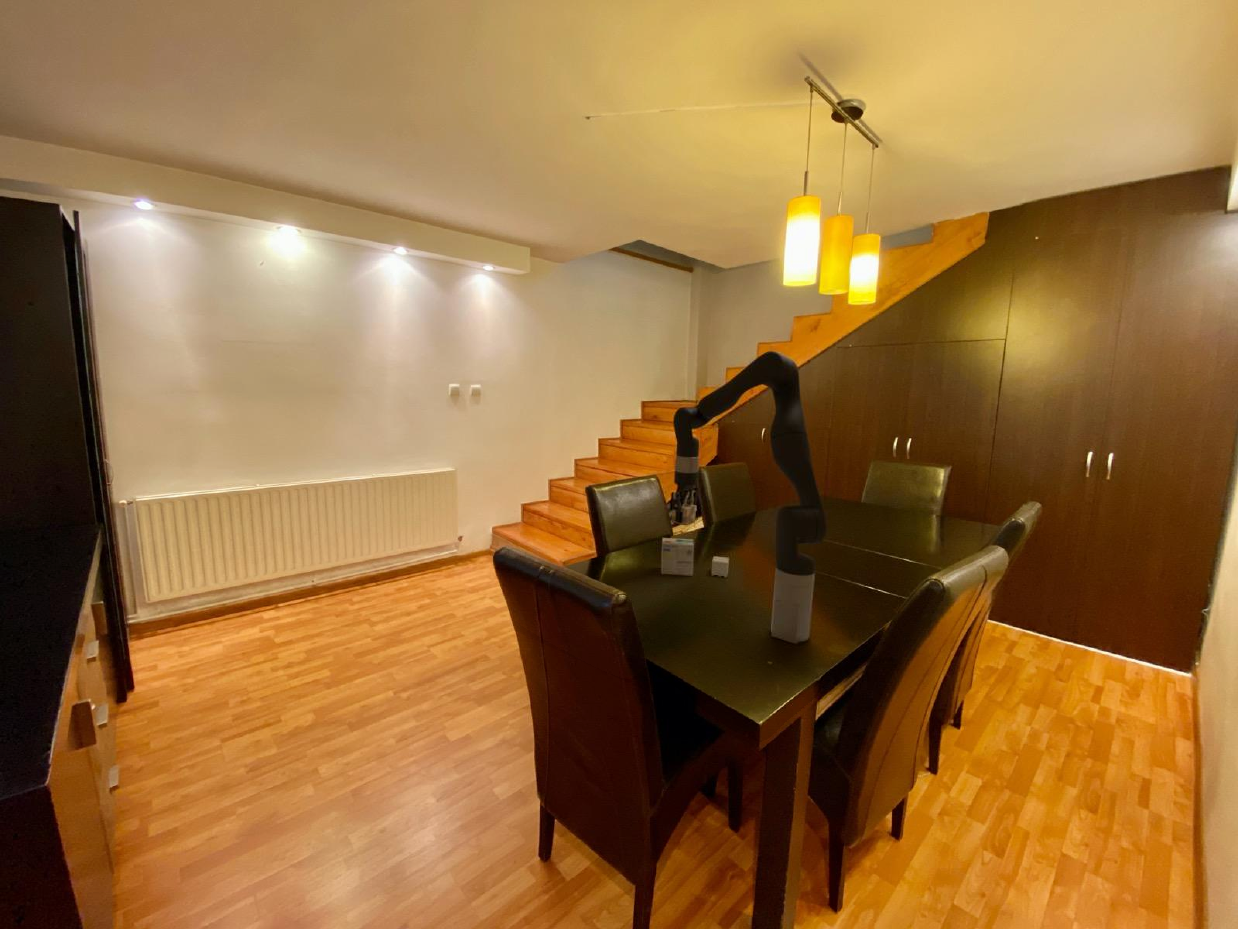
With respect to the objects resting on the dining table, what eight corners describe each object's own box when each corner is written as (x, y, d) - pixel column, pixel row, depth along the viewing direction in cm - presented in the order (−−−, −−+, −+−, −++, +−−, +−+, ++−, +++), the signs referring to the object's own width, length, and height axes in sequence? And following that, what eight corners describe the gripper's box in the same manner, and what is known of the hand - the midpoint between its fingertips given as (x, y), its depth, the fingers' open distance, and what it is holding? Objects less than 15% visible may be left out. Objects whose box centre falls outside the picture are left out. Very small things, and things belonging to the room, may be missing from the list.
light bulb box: (692, 569, 170) (693, 538, 168) (693, 576, 163) (694, 544, 162) (660, 567, 171) (662, 537, 169) (660, 574, 164) (661, 543, 163)
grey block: (726, 577, 164) (727, 563, 163) (711, 575, 165) (712, 561, 164) (727, 572, 168) (728, 558, 167) (713, 570, 170) (713, 556, 169)
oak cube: (686, 525, 158) (687, 509, 157) (671, 522, 161) (672, 505, 160) (694, 522, 163) (695, 505, 162) (680, 518, 166) (681, 502, 165)
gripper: (685, 474, 151) (682, 527, 154) (707, 468, 162) (704, 518, 165) (664, 470, 155) (662, 523, 158) (687, 465, 167) (684, 513, 170)
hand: (683, 520), depth 162 cm, fingers closed on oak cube, 5 cm apart
